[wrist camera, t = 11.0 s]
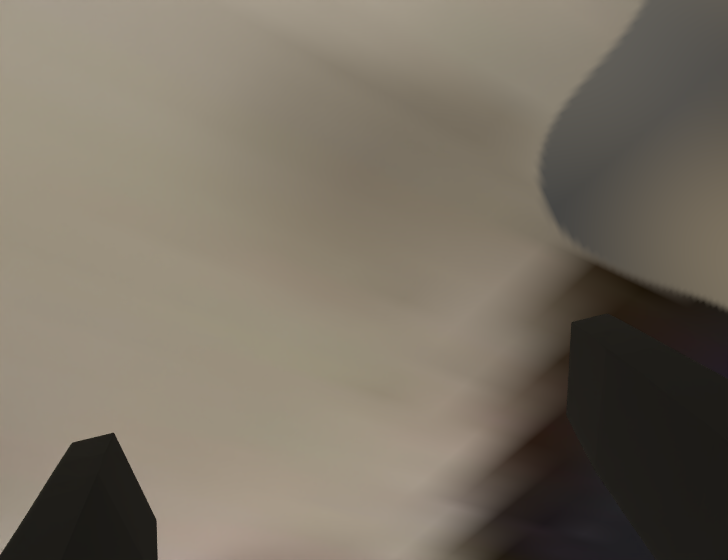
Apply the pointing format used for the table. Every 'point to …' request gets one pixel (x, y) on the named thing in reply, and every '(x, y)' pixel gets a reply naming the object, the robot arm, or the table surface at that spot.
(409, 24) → the table surface
